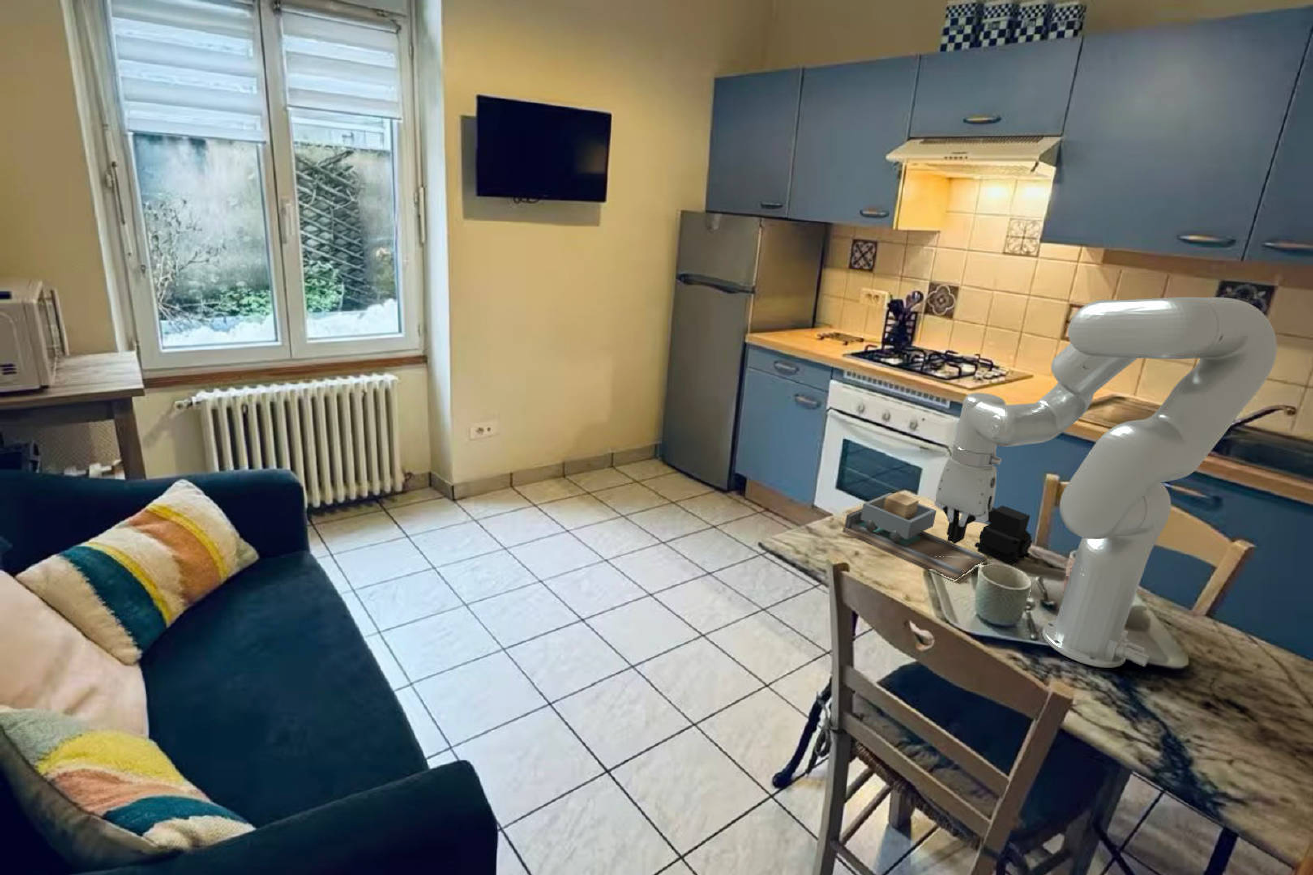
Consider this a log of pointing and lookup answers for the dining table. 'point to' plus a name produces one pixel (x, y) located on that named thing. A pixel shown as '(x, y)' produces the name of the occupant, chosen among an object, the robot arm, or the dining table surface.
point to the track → (916, 548)
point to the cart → (896, 519)
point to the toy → (1005, 535)
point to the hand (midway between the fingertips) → (954, 540)
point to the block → (901, 505)
